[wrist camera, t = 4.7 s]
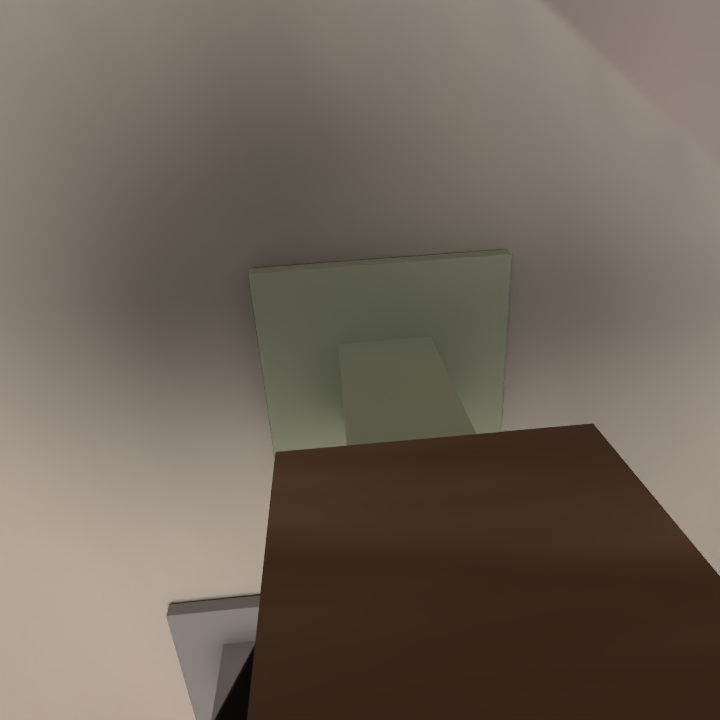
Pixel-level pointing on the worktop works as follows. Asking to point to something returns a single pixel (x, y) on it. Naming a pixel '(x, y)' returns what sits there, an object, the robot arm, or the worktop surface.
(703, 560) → the brown rectangular block
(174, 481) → the worktop surface
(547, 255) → the worktop surface
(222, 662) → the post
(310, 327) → the post
